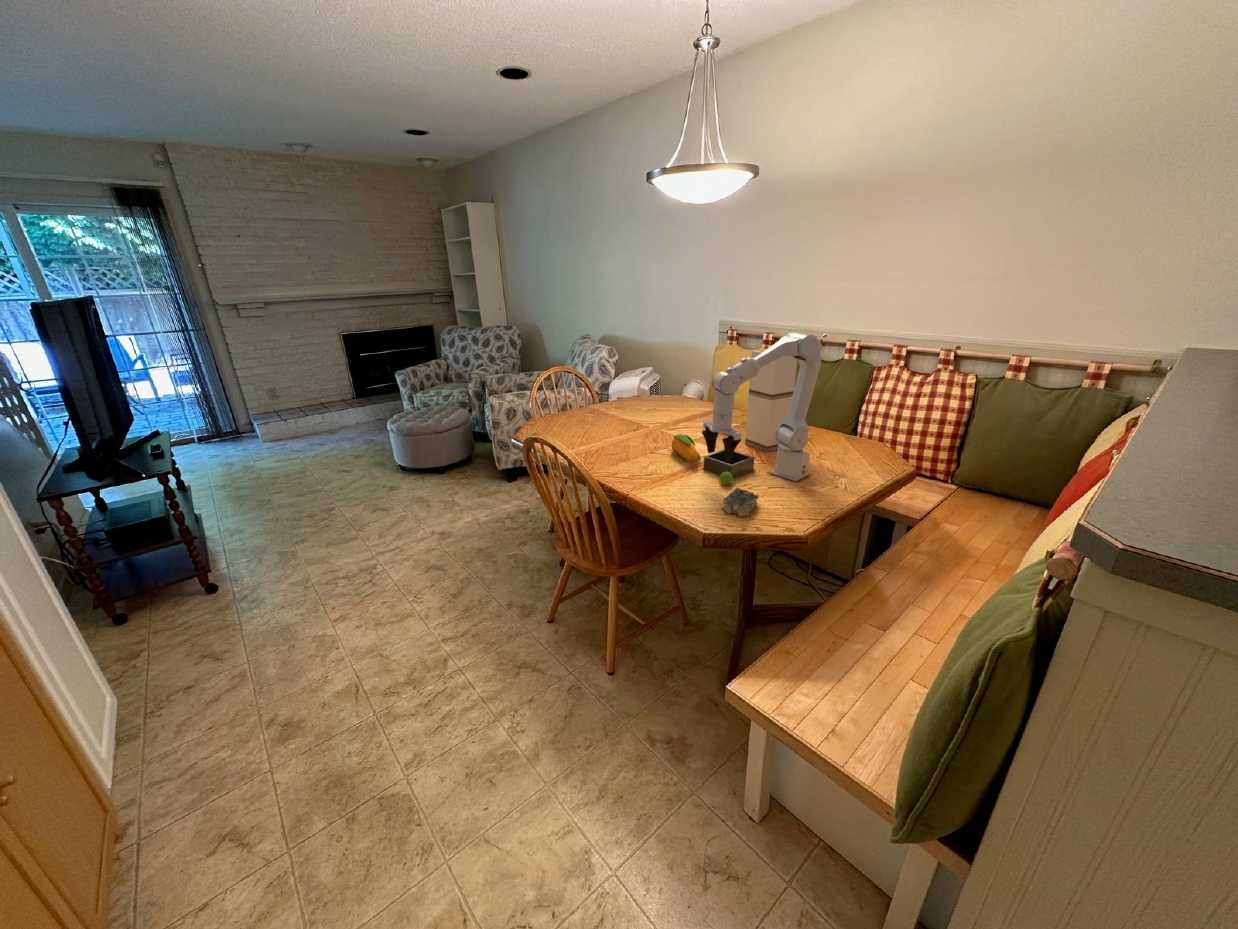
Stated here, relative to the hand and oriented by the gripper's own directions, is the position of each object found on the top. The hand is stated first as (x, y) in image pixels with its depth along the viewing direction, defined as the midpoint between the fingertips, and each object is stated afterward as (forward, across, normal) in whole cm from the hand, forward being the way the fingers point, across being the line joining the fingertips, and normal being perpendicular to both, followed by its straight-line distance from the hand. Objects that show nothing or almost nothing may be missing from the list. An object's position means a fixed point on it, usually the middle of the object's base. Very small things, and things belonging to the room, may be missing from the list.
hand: (719, 456), depth 147 cm
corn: (+9, -22, +5) cm, 25 cm away
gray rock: (+9, +17, -7) cm, 20 cm away
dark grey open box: (+8, -6, +10) cm, 14 cm away
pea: (+9, +3, +1) cm, 9 cm away
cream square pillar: (+8, -16, +39) cm, 43 cm away
